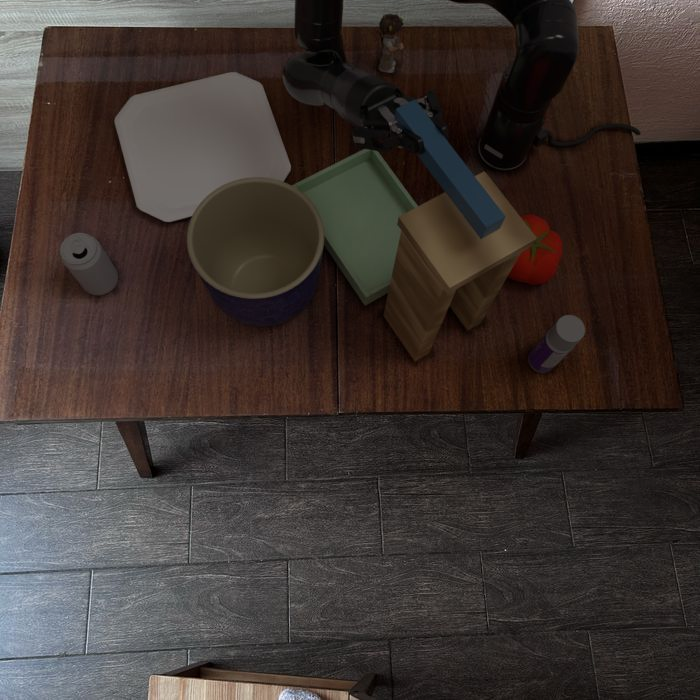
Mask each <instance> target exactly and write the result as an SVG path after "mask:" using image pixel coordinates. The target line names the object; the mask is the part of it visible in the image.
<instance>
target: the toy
mask: <svg viewBox="0 0 700 700" xmlns="http://www.w3.org/2000/svg"><path fill="white" fill-rule="evenodd" d="M392 4H393V7H392V8H394V6H395V4H397V3H392ZM398 10H399V7H398V8H397V7H396V9H395V11H398ZM383 12H386V7H385V8H384V9H383ZM387 12H388V13H384V14H383V13H382V16H381V17H382V18H380V21H379V23H378V29H377V31H376V33H378V35H379V41H378V43H379V46H381V47H382V49H381V52H382V53H381V54H382V55H381V57H380V59H379V64H378V70H379V71H380V72H381V73H388V74H393V73H395V68H396V67H395V66H396V63H397V62H396V60H395V59H394V58H395V57H394V56H395V53H397V52H401V51H403V49H405V47H404V43H403V42H400V38H399V37H398V35H399V34H400V35H399V36H400V37H401V36H402V35H401V32H402V30H403V26H404V24H405V23H404V22H403V21H404V20H403V17H406V16H405V15H403V14H402V11H400V10H399V12H396V13H395V14H394V13H393V12H394V11H393V10H392V12H391V13H390V12H389V10H387ZM399 13H400V14H399ZM402 16H403V17H402ZM378 31H380V32H378Z"/></svg>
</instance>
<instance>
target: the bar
mask: <svg viewBox="0 0 700 700" xmlns="http://www.w3.org/2000/svg"><path fill="white" fill-rule="evenodd" d="M416 100H417V99H416ZM416 100H413V101H411V102H409V103H407V104H405V105H403V106H401V107H398V108H396V111H395V119H396V121H397V123H398V124H400V125H401V126H402V127H403V128H404V130H406V129H408V130H409V131H411V132H413V133H415V134H417V135H418V136H420V137H421V138H422V139H423V142H424V149H425V152H424V153H423V154H421V155H419V154H417V153H415V154H416V156H417V157H418V158H419V160H420V161H421V162H422V163H423V165H424V166H425V167H426V168H427V170H428V171H429V172H430V174H431V175H432V177H433V178H434V179H435V180H436V182H437V183H438V185H439V186H440V187H441V189H442V190H443V192H446V194H447V195H448V196H449V198H450V199H451V200H452V202H453V203H454V204H455V206H456V207H457V208H458V210H459V211H460V212H461V214H462V215H463V216H464V218H465V219H466V220H467V222H468V223H469V224H470V226H471V227H472V228H473V230H474V231H475V232H476V234H477V235H478V236H479V237H480V239H482V238H484V237H486V236H488V235H489V234H491V233H493V232H495V231H497V230H498V229H500V227H501V225H502V223H503V221H504V219H505V217H506V216H505V215H504V214H503V212H502V211H501V210H500V208H499V207H498V206H497V205H496V203H495V202H494V201H493V199H492V198H491V197H490V195H489V194H488V193H487V192H486V190H485V189H484V188H483V186H482V185H481V184H480V183H479V181H478V180H477V179H476V177H475V176H476V175H475V174H474V173H473V172H472V171H471V169H470V168H469V167H468V166H467V164H466V163H465V162H464V161H463V159H462V158H461V157H460V155H459V154H458V153H457V152H456V150H455V149H454V148H453V146H452V145H451V144H450V143H449V140H448V141H447V140H446V139H445V137H444V136H443V135H442V134H441V132H440V131H439V130H438V128H437V127H436V126H435V125H434V123H433V122H432V121H431V119H430V118H429V117H428V115H427V114H426V113H425V112H424V109H422V108H421V106H420V105H419V104H418V103H417V101H416Z"/></svg>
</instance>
